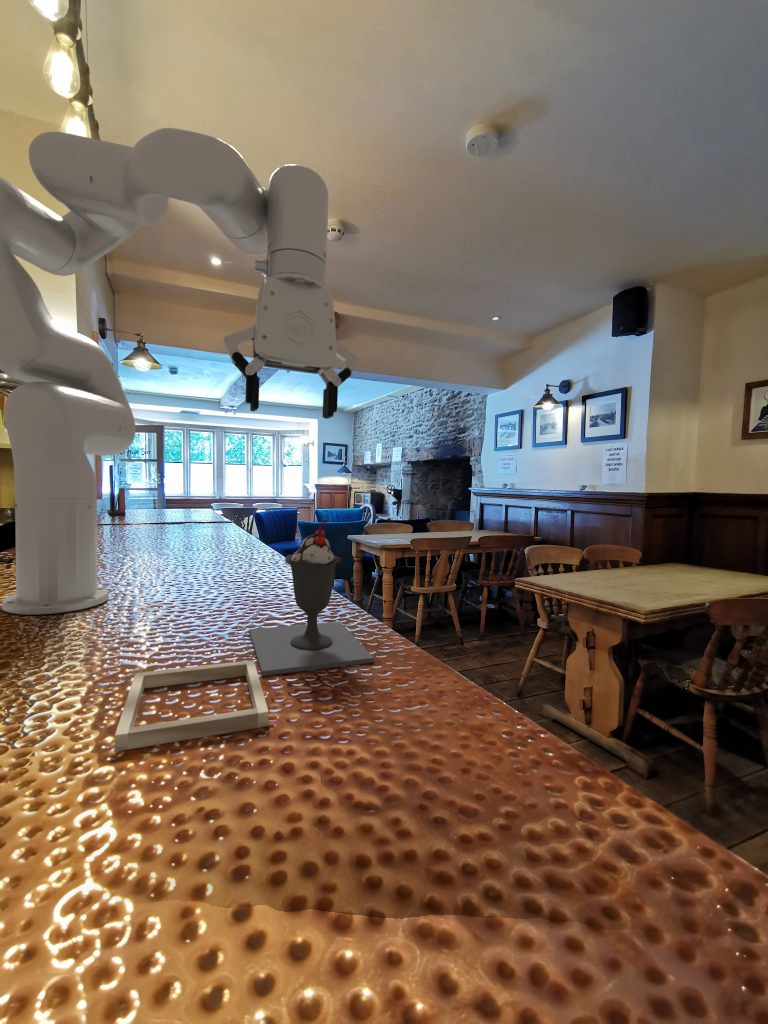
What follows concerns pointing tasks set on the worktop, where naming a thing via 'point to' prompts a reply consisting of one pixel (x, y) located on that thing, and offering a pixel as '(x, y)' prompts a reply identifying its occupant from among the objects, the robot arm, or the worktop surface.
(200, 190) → the robot arm
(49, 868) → the worktop surface
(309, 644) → the sundae
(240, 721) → the frame
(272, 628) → the bar mat
